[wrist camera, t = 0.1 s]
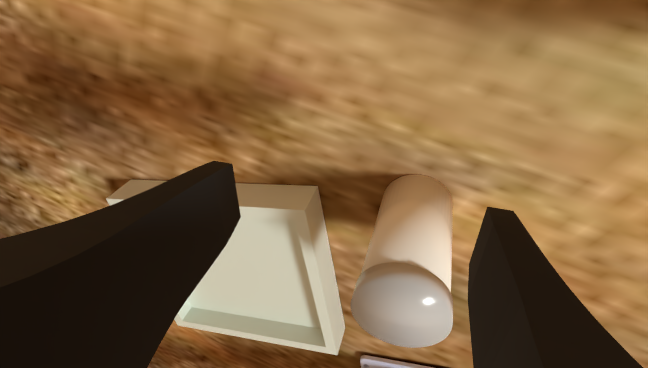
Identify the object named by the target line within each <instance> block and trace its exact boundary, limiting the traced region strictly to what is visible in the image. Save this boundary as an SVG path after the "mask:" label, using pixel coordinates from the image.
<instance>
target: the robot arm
mask: <svg viewBox="0 0 648 368" xmlns="http://www.w3.org/2000/svg"><path fill="white" fill-rule="evenodd" d="M240 218H241V215H240V209H239V203H238V196H237V190H236V184H235V178H234V172H233V166H232V164H230V163H224V162H218V161H213V162H210V163H207V164H204V165H202V166H199V167H197V168H195V169H193V170H190V171H188V172H186V173H184V174H181V175H179V176H177V177H175V178H173V179H171V180H168V181H166V182H164V183H162V184H160V185H157V186H155V187H153V188H151V189H149V190H146V191H144V192H142V193H139V194H137V195H134V196H132V197H130V198H127V199H125V200H123V201H120V202H118V203H115V204H113V205H111V206H108V207H105V208H103V209H100V210H97V211H94V212H92V213H89V214H86V215H83V216H80V217H77V218H74V219H71V220H68V221H65V222H62V223H58V224H55V225H51V226H48V227H44V228H40V229H37V230H33V231H30V232H26V233H22V234H19V235H15V236H11V237H7V238H2V239H0V368H147V367H148V365H149V363H150V361H151V359H152V357H153V355H154V354H155V352H156V350H157V348H158V346H159V344H160V343H161V341H162V339H163V337H164V336H165V334H166V332H167V331H168V329H169V327H170V325H171V324H172V322H173V320H174V318H175V317H176V315H177V314H178V312H179V311H180V309H181V308H182V306H183V305H184V303H185V302H186V300H187V299H188V297H189V296H190V295H191V293H192V292H193V291H194V289H195V288H196V286H197V285H198V284H199V282H200V281H201V280H202V278H203V277H204V275H205V274H206V273H207V271H208V270H209V269H210V267H211V266H212V264H213V263H214V262H215V260H216V259H217V257H218V256H219V255H220V253H221V252H222V250H223V249H224V247H225V246H226V244H227V243H228V241H229V239H230V237H231V235H232V234H233V232H234V230H235V228H236V226H237V224H238V222H239V220H240ZM468 307H469V319H470V331H471V342H472V354H473V365H474V368H643V367H642V366H641V365H640V364H639V363H638V362H637V361H636V360H635V359H634V358H633V357H632V356H631V355H630V354H629V353H628V352H627V351H626V350H625V349H624V348H623V347H622V346H621V345H620V344H619V343H618V342H617V341H616V340H615V339H614V338H613V337H612V336H611V335H610V334H609V333H608V332H607V331H606V330H605V329H604V328H603V326H602V325H601V324H600V323H599V322H598V321H597V320H596V319H595V318H594V317H593V316H592V314H591V313H590V312H589V311H588V310H587V309H586V307H585V306H584V305H583V304H582V303H581V302H580V300H579V299H578V298H577V297H576V296H575V294H574V293H573V292H572V291H571V290H570V289H569V287H568V286H567V285H566V284H565V282H564V281H563V280H562V278H561V277H560V276H559V274H558V273H557V272H556V270H555V269H554V268H553V266H552V265H551V264H550V263H549V261H548V260H547V258H546V257H545V256H544V254H543V253H542V252H541V250H540V249H539V247H538V246H537V244H536V243H535V242H534V240H533V239H532V237H531V236H530V234H529V233H528V231H527V230H526V228H525V227H524V226H523V224H522V223H521V221H520V220H519V218H518V217H517V215H516V214H515V213H514V211H510V210H504V209H498V208H492V207H487V210H486V213H485V216H484V219H483V222H482V225H481V229H480V232H479V235H478V238H477V241H476V244H475V247H474V251H473V254H472V257H471V260H470V263H469V281H468ZM360 364H361V368H434V367H428V366H423V365H417V364H412V363H406V362H401V361H395V360H390V359H384V358H379V357H373V356H368V355H362V356H361V358H360Z"/></svg>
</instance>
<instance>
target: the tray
mask: <svg viewBox="0 0 648 368" xmlns="http://www.w3.org/2000/svg"><path fill="white" fill-rule="evenodd" d="M164 182H166V181H161V180H133V179H131V180H129V181H128V182H127V183H126V184H124V185H123V186H122V187H120V188H119V189H118V190H117V191H115V192H114V193H113V194H111V195H110V196H109V197H108V198H106V199H107V201H108V203H109V205H110V206H111V205H113V204H115V203H118V202H120V201H123V200H125V199H127V198H130V197H132V196H134V195H137V194H139V193H142V192H144V191H146V190H149V189H151V188H153V187H155V186H157V185H160V184H162V183H164ZM235 184H236V190H237V196H238V203H239V209H240V215H241V218H240V220H239V222H238V224H237V226H236V228H235V230H234V232H233V234H232V235H231V237H230V239H229V241H228V243H227V244H226V246H225V247H224V249H223V250H222V252H221V253H220V255H219V256H218V257H217V259H216V260H215V262H214V263H213V264H212V266H211V267H210V269H209V270H208V271H207V273H206V274H205V275H204V277H203V278H202V280H201V281H200V282H199V284H198V285H197V286H196V288H195V289H194V291H193V292H192V293H191V295H190V296H189V297H188V299H187V300H186V302H185V303H184V305H183V306H182V308H181V309H180V311H179V312H178V314H177V315H176V317H175V318H174V320H175V321H176V323H177V325H179V326H184V327H189V328H195V329H200V330H205V331H210V332H216V333H221V334H226V335H232V336H237V337H242V338H248V339H253V340H258V341H264V342H269V343H274V344H280V345H285V346H290V347H296V348H301V349H306V350H312V351H317V352H322V353H328V354H333V355H338V351H339V348H340V344H341V341H342V337H343V334H344V330H345V324H344V319H343V314H342V308H341V303H340V298H339V293H338V288H337V283H336V277H335V272H334V267H333V262H332V257H331V251H330V246H329V241H328V236H327V231H326V226H325V220H324V215H323V210H322V205H321V200H320V195H319V189H318V186H302V185H274V184H246V183H235Z"/></svg>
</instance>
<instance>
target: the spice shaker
mask: <svg viewBox="0 0 648 368" xmlns="http://www.w3.org/2000/svg"><path fill="white" fill-rule="evenodd" d="M452 220H453V201H452V197H451V194H450V192H449V191H448V189H447V188H446V187H445V186H444V185H443V184H442V183H440V182H439V181H437V180H436V179H434V178H431V177H428V176H425V175H417V174H415V175H406V176H402V177H400V178H397V179H396V180H394V181H393V182H391V183H390V184H389V185H388V187H387V188H386V190H385V192H384V195H383V198H382V202H381V205H380V209H379V212H378V216H377V219H376V223H375V227H374V230H373V234H372V237H371V241H370V244H369V248H368V251H367V255H366V259H365V262H364V266H363V269H362V273H361V275H360V276H359V278H358V280H357V282H356V286H355V289H354V293H353V296H352V300H351V311H352V314H353V316H354V318H355V320H356V321H357V323H358V324H359V325H360V326H361V327H362V328H363V329H364V330H365V331H367V332H368V333H369V334H371V335H372V336H374V337H376V338H378V339H380V340H382V341H384V342H387V343H390V344H393V345H397V346H402V347H413V348H415V347H427V346H431V345H434V344H437V343H439V342H441V341H442V340H444V339H445V338H446V337H447V336H448V335H449V333H450V332H451V329H452V325H453V298H452V295H451V261H452Z"/></svg>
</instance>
